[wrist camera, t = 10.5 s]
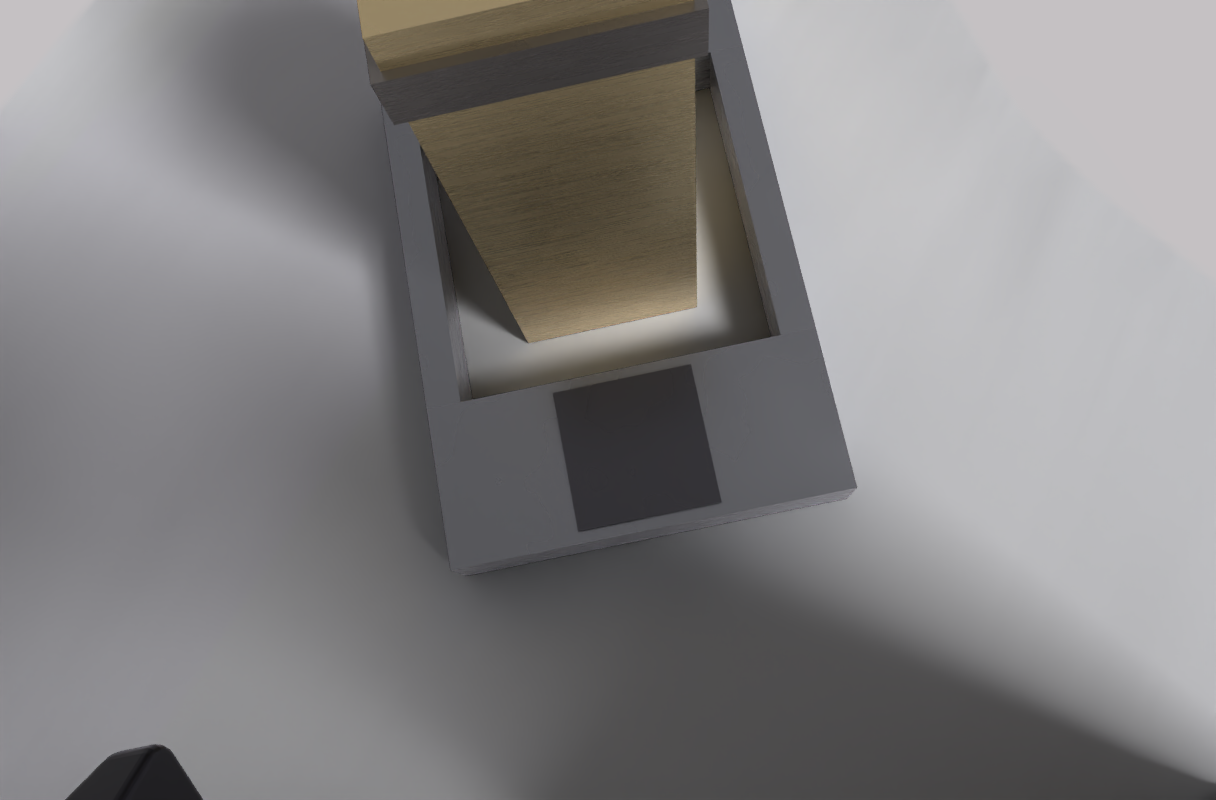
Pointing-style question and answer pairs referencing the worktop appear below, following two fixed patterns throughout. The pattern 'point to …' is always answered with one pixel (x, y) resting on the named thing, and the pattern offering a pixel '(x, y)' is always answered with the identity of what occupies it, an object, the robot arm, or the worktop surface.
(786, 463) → the rail plate
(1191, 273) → the worktop surface
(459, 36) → the post
